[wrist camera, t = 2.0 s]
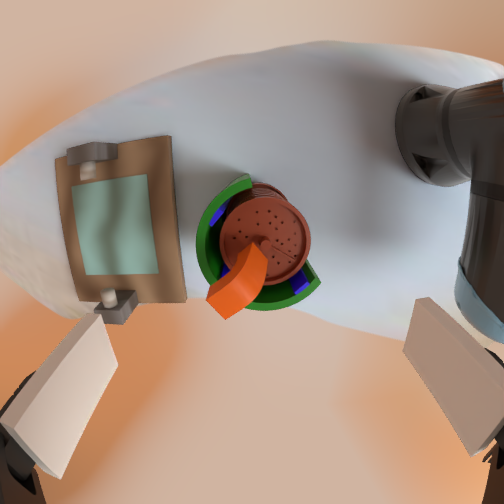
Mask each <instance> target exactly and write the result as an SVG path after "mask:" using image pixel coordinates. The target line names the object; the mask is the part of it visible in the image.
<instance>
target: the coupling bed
mask: <svg viewBox="0 0 504 504" xmlns="http://www.w3.org/2000/svg"><path fill="white" fill-rule="evenodd" d="M55 169H56V182H57V192H58V201H59V208H60V215H61V222H62V228H63V234H64V239H65V245H66V250H67V254H68V259H69V263H70V268H71V272H72V276H73V280H74V284H75V287H76V291H77V295H78V298H79V301H87V302H100V303H99V304H98V306H97V307H96V308H95V309H94V313H95V314H101V316H102V319H103V322H104V324H121V325H123V324H124V323H125V321H126V320H127V319H128V317H129V316H130V314H131V313H132V312H133V310H134V309H135V307H136V306H137V305H138V303H185V302H186V300H187V293H186V287H185V280H184V272H183V265H182V257H181V249H180V241H179V232H178V222H177V212H176V201H175V189H174V176H173V161H172V142H171V136H168V135H167V136H160V137H153V138H147V139H141V140H135V141H130V142H124V143H119V144H113V143H102V142H91V143H87V144H83V145H80V146H76V147H72V148H69V149H67V156H65V157H61V158H57V159H55Z"/></svg>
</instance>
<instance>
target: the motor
mask: <svg viewBox="0 0 504 504" xmlns="http://www.w3.org/2000/svg"><path fill="white" fill-rule="evenodd" d="M230 199H231V200H230ZM229 201H230V202H229ZM228 203H229V204H228ZM227 205H228V207H227ZM226 207H227V212H226V219H225V222H224V219H223V213H224V211H225V209H226ZM310 244H311V237H310V231H309V227H308V225H307V222H306V220H305V219H304V217H303V216H302V214H301V213H300V212H299V211H298V210H297V209H296V208H295V207H294V206H292V205H291V204H290V203H289V202H288V201H287V199H286V197H285V196H284V195H283V194H282V193H281V192H280V191H279V190H278V189H276V188H275V187H273V186H271V185H268V184H265V183H252V182H251V178H250V175H249V174H246V175H243V176H241V177H239V178H237V179H236V180H234V181H233V182H232V183H230V184H229V185H228V186H227V187H226V188H225V189H224V190H223V191H222V192H221V193H220V194H219V195H218V196H216V197H215V198H214V200H213V201H212V202H211V203H210V204H209V206H208V207H207V209H206V210H205V212H204V214H203V216H202V218H201V220H200V223H199V226H198V230H197V235H196V254H197V259H198V263H199V266H200V269H201V271H202V273H203V275H204V277H205V279H206V280H207V282H208V283H209V284H210V288H209V291H208V294H207V298H206V301H207V302H208V303H209V304H210V305H211V306H212V307H213V308H214V309H215V310H216V311H217V312H218V313H219V314H220V315H221V316H222V317H223V318H224V319H225V320H226V319H227V318H229V317H231V316H232V315H234V314H235V313H237V312H238V311H240V310H242V309H243V308H247V309H251V310H260V311H268V310H277V309H281V308H285V307H288V306H291V305H293V304H296V303H298V302H299V301H301V300H303V299H304V298H306V297H307V296H309V295H310V294H311V293H312V292H313V291H314V290H315V289H316V288H317V287H318V286H319V285H320V284H321V281H320V280H319V278H318V276H317V275H316V273H315V271H314V270H313V268H312V267H311V265H310V263H309V262H308V260H307V257H308V254H309V250H310Z"/></svg>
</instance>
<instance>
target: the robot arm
mask: <svg viewBox="0 0 504 504" xmlns="http://www.w3.org/2000/svg"><path fill="white" fill-rule="evenodd" d="M395 127H396V137H397V141H398V145H399V148H400V151H401V153H402V156H403V158H404V160H405V161H406V163H407V165H408V166H409V167H410V169H411V170H412V171H413V172H414V173H415V174H416V175H417V176H418V177H419V178H420V179H422V180H423V181H425V182H427V183H429V184H432V185H437V186H442V187H452V186H456V185H459V184H462V183H465V182H467V181H470V180H471V189H470V199H469V210H468V218H467V225H466V232H465V238H464V243H463V249H462V254H461V257H459V260H458V274H457V279H456V284H455V290H454V295H455V301H456V304H457V306H458V308H459V309H460V311H461V313H462V315H463V316H464V317H465V319H466V320H467V321H468V322H469V323H470V324H471V325H472V326H473V327H474V328H475V329H477V330H478V331H479V332H481V333H482V334H483V335H485V336H487V337H488V338H490V339H492V340H494V341H496V342H499V343H502V344H504V78H503V79H498V80H493V81H489V82H484V83H480V84H476V85H471V86H467V87H463V88H460V89H455V88H450V87H445V86H440V85H435V84H428V85H423V86H420V87H417V88H415V89H412V90H411V91H409V92H408V93H407V94H406V95H405V96H404V97H403V98H402V100H401V102H400V104H399V106H398V109H397V113H396V122H395ZM403 352H404V354H405V355H406V357H407V358H408V360H409V361H410V362H411V364H412V365H413V367H414V368H415V370H416V371H417V373H418V374H419V376H420V377H421V378H422V380H423V381H424V383H425V384H426V386H427V387H428V389H429V390H430V392H431V393H432V395H433V396H434V398H435V399H436V401H437V402H438V404H439V405H440V407H441V409H442V410H443V412H444V413H445V415H446V417H447V418H448V420H449V421H450V423H451V425H452V426H453V428H454V430H455V431H456V433H457V435H458V436H459V438H460V440H461V441H462V443H463V444H464V446H465V448H466V450H467V452H468V453H469V455H470V457H473V456H474V455H476V454H478V453H479V452H481V451H482V450H484V449H485V448H487V446H488V445H489V444H490V443H491V441H492V440H493V439H494V438H495V440H496V441H497V443H496V444H495V445H494V446H493V448H492V449H491V450H490V451H489V452H488V453H487V454H486V456H485V457H484V459H483V461H482V462H485V461H486V460H487V459H488V458H489V457H490V456H491V455H492V457H491V458H490V460H489V461H488V463H491V465H490V470H489V475H488V480H487V485H486V489H485V493H484V497H483V501H482V504H504V363H503V361H502V360H501V359H500V358H499V357H498V356H497V355H496V354H495V353H493V352H492V351H490V350H488V349H486V348H483V347H482V346H481V345H480V344H479V343H478V342H477V341H476V340H475V339H474V338H473V337H472V336H471V335H470V334H469V333H468V332H467V331H466V330H465V329H464V328H463V327H462V326H461V325H460V324H459V323H457V322H456V321H455V320H454V319H453V318H452V317H451V316H450V315H449V314H448V313H446V312H445V311H444V310H443V309H442V308H441V307H440V306H439V305H438V304H436V303H435V302H434V301H433V300H432V299H431V298H430V297H427V298H420V299H416V300H415V305H414V309H413V313H412V318H411V322H410V326H409V330H408V334H407V337H406V341H405V344H404V348H403ZM117 367H118V363H117V360H116V357H115V355H114V352H113V349H112V346H111V344H110V340H109V338H108V335H107V332H106V328H105V326H104V322H103V319H102V316H101V314H93V313H87V314H86V315H85V316H84V317H83V318H82V319H81V320H80V321H79V322H78V323H77V324H76V326H75V327H74V328H73V329H72V330H71V331H70V332H69V333H68V334H67V336H66V337H65V338H64V339H63V340H62V341H61V343H59V345H58V346H57V347H56V348H55V349H54V350H53V352H52V353H51V354H50V355H49V356H48V358H47V359H46V360H45V361H44V362H43V364H42V365H41V366H40V367H39V368H38V370H37V371H35V372H33V373H32V374H30V375H29V376H27V377H26V378H25V379H24V380H23V382H22V383H21V384H20V385H19V388H17V389H16V391H15V392H14V395H12V396H11V397H10V398H9V400H8V401H7V402H6V404H5V405H4V406H3V408H2V409H1V410H0V504H46V501H45V498H44V495H43V492H42V489H41V485H40V481H39V477H38V474H37V472H36V470H35V469H34V468H33V467H34V465H35V463H36V464H37V465H38V466H39V467H40V468H41V469H42V470H43V471H44V472H46V473H48V474H50V475H52V476H54V477H56V478H59V479H61V478H62V476H63V473H64V471H65V469H66V467H67V465H68V462H69V460H70V458H71V456H72V454H73V452H74V449H75V447H76V445H77V443H78V441H79V439H80V437H81V435H82V433H83V431H84V429H85V427H86V425H87V423H88V421H89V419H90V417H91V415H92V413H93V411H94V409H95V407H96V405H97V403H98V401H99V400H100V398H101V396H102V394H103V392H104V390H105V388H106V387H107V385H108V383H109V381H110V379H111V377H112V376H113V374H114V372H115V370H116V368H117Z"/></svg>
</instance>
